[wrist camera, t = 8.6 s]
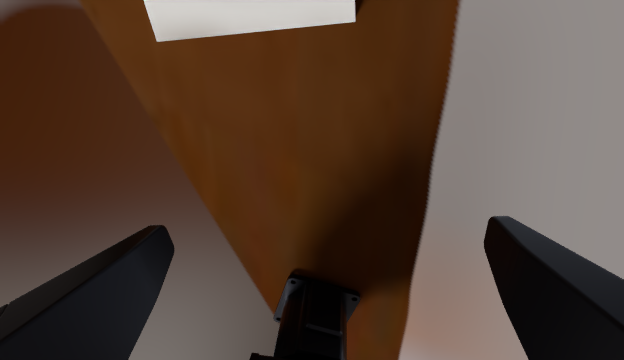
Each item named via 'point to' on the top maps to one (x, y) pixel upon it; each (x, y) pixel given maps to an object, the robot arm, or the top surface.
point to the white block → (241, 16)
